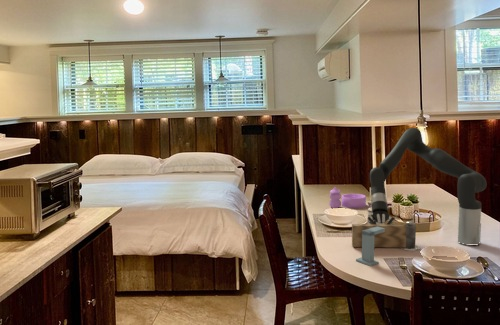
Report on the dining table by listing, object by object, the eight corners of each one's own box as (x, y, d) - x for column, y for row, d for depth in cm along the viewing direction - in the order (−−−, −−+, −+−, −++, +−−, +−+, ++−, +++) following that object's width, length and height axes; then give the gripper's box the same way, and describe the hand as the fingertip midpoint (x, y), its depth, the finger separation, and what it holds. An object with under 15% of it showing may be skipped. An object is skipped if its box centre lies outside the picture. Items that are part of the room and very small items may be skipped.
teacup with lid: (363, 224, 245) (364, 204, 244) (376, 222, 249) (376, 202, 247) (378, 229, 234) (379, 208, 233) (391, 227, 238) (392, 206, 237)
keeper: (373, 255, 196) (373, 225, 195) (388, 259, 190) (388, 229, 188) (355, 260, 190) (356, 230, 188) (370, 266, 183) (371, 234, 182)
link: (413, 244, 208) (414, 224, 206) (416, 248, 203) (417, 226, 201) (351, 244, 211) (351, 223, 209) (352, 247, 206) (353, 226, 204)
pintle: (417, 244, 209) (418, 219, 207) (421, 250, 200) (422, 224, 199) (397, 244, 210) (398, 219, 209) (401, 250, 202) (401, 224, 200)
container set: (357, 202, 300) (357, 183, 299) (370, 206, 286) (370, 186, 284) (324, 205, 293) (324, 186, 291) (335, 210, 278) (335, 190, 277)
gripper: (392, 208, 220) (395, 239, 210) (364, 207, 222) (367, 239, 212) (394, 200, 214) (397, 232, 204) (366, 199, 217) (368, 231, 206)
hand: (382, 235), depth 208 cm, fingers closed
